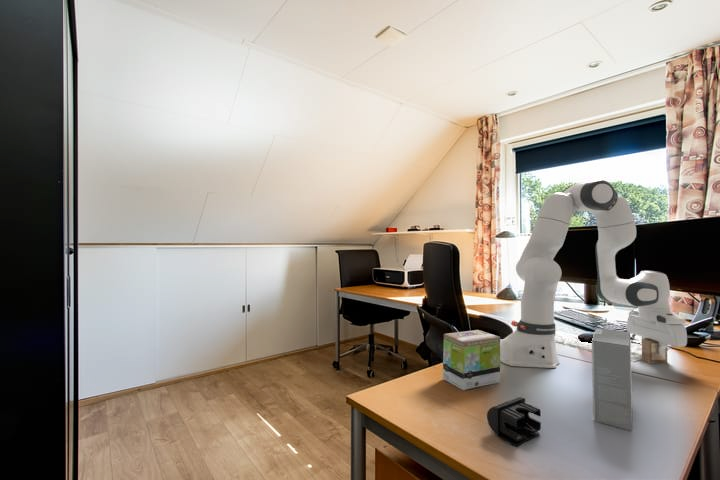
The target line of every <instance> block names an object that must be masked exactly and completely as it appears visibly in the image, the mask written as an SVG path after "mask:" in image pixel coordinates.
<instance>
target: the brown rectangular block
mask: <svg viewBox="0 0 720 480" xmlns="http://www.w3.org/2000/svg"><path fill="white" fill-rule="evenodd" d="M641 342H642V359H641V361H642V362H645V363H648V364H668V350H667V348H666V349H665V354H658V353H657V352H656V351H657V350H656V348H659V347H660V345H659V342H658V341H655V340H652V339H642V338H641Z"/></svg>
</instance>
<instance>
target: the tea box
mask: <svg viewBox="0 0 720 480" xmlns="http://www.w3.org/2000/svg"><path fill="white" fill-rule="evenodd" d="M500 346H501V336H498V335H495V334H492V333H489V332H486V331H483V330H479V329H474V330H467V331H466V330H465V331H457V332H449V333H443V349H442V351H443V354H442V355H443V358H442V379H443V380H445V381H446V382H447V383H449V384H451V385H453V386H454V387H456V388H459V389H460V390H461V391H467V390H471V389H474V388H480V387H485V386H488V385H495V384H498V383H500V381H501V361H500Z"/></svg>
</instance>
